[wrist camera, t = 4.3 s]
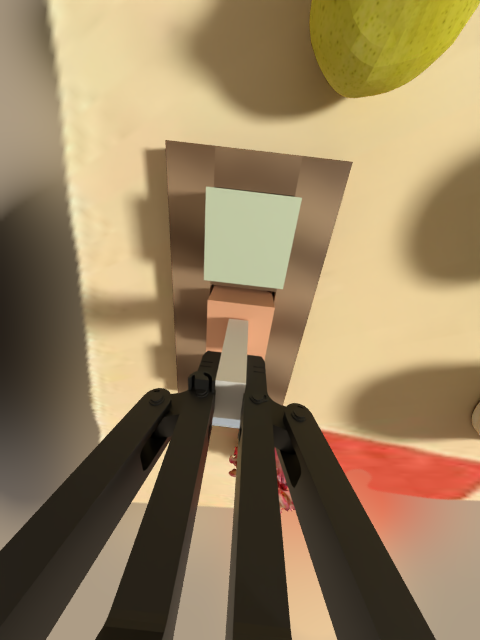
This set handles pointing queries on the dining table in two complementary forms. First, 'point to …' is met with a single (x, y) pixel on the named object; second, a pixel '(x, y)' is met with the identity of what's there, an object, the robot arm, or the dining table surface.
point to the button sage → (248, 236)
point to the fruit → (382, 40)
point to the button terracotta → (239, 316)
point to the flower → (283, 489)
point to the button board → (193, 291)
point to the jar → (476, 418)
